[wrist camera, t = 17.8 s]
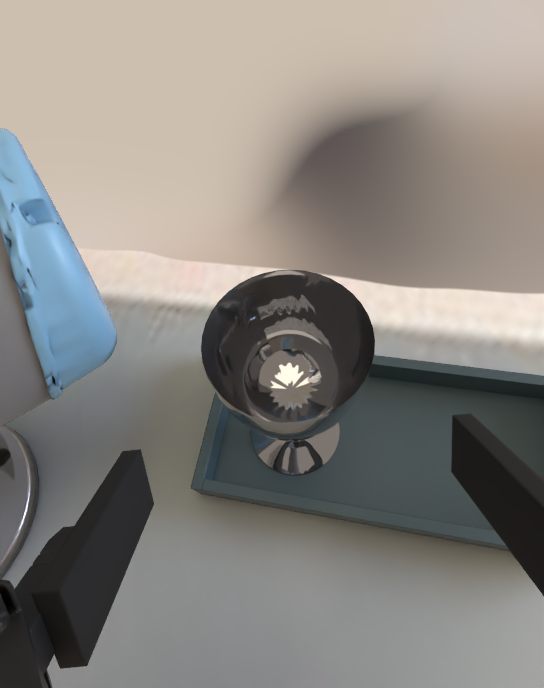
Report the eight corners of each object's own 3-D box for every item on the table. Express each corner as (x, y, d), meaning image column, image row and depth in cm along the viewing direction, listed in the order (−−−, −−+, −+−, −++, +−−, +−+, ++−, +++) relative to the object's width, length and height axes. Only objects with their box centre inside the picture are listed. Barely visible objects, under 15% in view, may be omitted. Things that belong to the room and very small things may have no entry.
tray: (200, 493, 30) (190, 488, 27) (234, 352, 35) (229, 337, 32) (584, 564, 26) (615, 566, 23) (556, 393, 31) (578, 379, 28)
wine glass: (230, 408, 32) (177, 309, 19) (314, 367, 33) (320, 247, 20) (271, 500, 29) (242, 457, 15) (364, 451, 30) (412, 371, 16)
